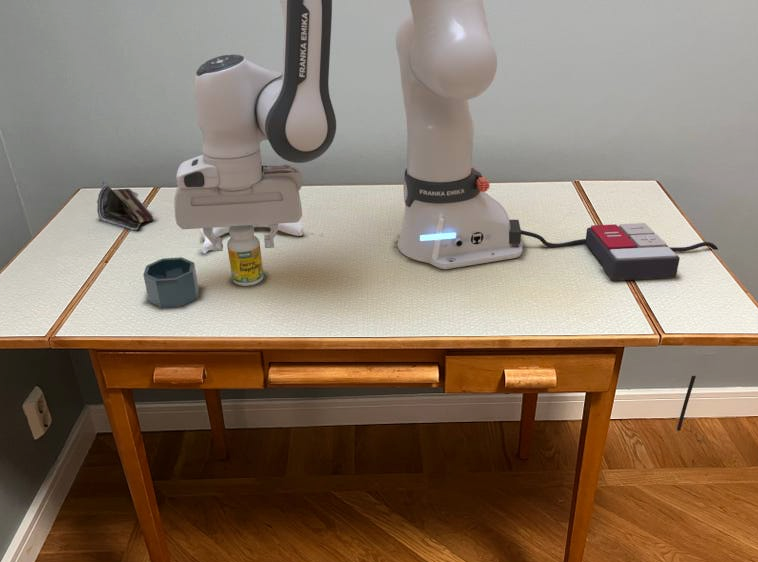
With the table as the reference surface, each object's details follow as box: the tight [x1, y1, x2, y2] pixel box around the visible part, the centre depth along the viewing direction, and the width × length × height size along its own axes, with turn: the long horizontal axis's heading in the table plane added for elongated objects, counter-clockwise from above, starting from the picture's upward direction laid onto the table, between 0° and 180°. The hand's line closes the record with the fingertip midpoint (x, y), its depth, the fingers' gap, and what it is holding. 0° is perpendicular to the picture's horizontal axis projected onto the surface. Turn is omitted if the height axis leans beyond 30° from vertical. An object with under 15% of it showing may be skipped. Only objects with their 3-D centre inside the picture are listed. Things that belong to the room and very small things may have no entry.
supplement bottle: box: [226, 225, 264, 287], centre depth 124 cm, size 5×5×10 cm
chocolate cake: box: [96, 181, 154, 231], centre depth 149 cm, size 10×7×12 cm
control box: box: [585, 222, 681, 281], centre depth 129 cm, size 11×4×15 cm
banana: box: [198, 220, 304, 254], centre depth 139 cm, size 5×19×15 cm
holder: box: [143, 256, 200, 309], centre depth 122 cm, size 8×8×5 cm
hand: (244, 248), depth 124 cm, fingers open, 7 cm apart
